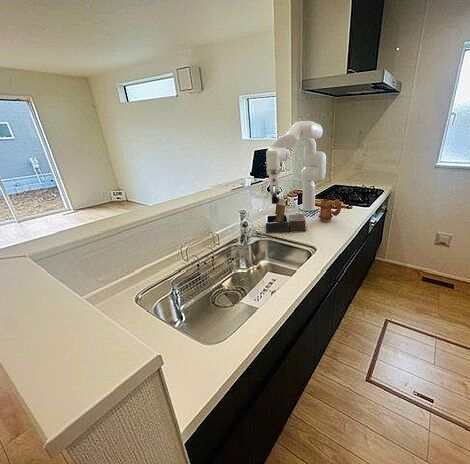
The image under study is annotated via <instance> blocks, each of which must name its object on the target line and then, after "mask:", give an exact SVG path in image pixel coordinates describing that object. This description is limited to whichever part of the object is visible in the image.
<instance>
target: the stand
mask: <svg viewBox="0 0 470 464" xmlns="http://www.w3.org/2000/svg"><path fill="white" fill-rule="evenodd" d="M287 216H288V222H289V232H290V233H296V232H297V233H298V232H299V233H300V232H303V233H304V232H306V221H307V220H306V218H305V216H304V214H303V213H300V214H297V213H296V214H295V213H294V214H287Z"/></svg>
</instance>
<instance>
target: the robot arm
mask: <svg viewBox="0 0 470 464" xmlns="http://www.w3.org/2000/svg"><path fill="white" fill-rule="evenodd" d="M323 133H324V130H323V127H322V125H321V124H320V123H317V122H315V121H312V120H298V121H295V122H294V123H293V124H292V125H291V127H290V128H289V130H288V131H287V132H286V133H285V134H284V135H282V136H280V137H279V138H276V139H275V140H274V141H273V142H271V144H270V145H269V146H268V148H267V150H266V152H265V157H266V159H265V160H266V161H265V162H266V175H267V176H268V179H269V188H270V189H269V190H270V193H271V204H272V205H276V204H277V197H278V193H279V192H280V179H279V176H280V175H281V162H287V161H289V160H290V158H291V156H292V155H291V150H290V149H289V148H292V147H295V146H296V145H297V144H298V143H299V141H300V140H301V141H302V143H303V162H304V163H303V164H305V165H306V166H304V167H303V168H302V169H301V174H300V175H301V181H302V203H301V205H300V206H299V207H300V208H299V209H300V210H301V211H304V212H314V211H316V210H317V209H318V206H316V183H315V182H323V181H325V178H326V174H327V173H326V172H327V154H326V152H324V151H318V150H317V143H316V140H317V139H320V138H321V137H322V136H323ZM307 165H308V166H307Z"/></svg>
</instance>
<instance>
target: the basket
mask: <svg viewBox="0 0 470 464" xmlns="http://www.w3.org/2000/svg"><path fill="white" fill-rule="evenodd" d="M273 219H276V214H272V215H271V214H269V215H265V232H266V234H281V233H282V234H285V233H286V234H287V233H289V232H290V230H289V220H288V214H284V219H283V222H281V221H280V222H273Z"/></svg>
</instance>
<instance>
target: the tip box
mask: <svg viewBox="0 0 470 464" xmlns="http://www.w3.org/2000/svg"><path fill="white" fill-rule="evenodd" d="M285 212H286V202H285V199H283V198H280V197H279V196H277V204H275V210H274V215H276V220H275V221H281V222H283V219H284V215H285Z"/></svg>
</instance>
